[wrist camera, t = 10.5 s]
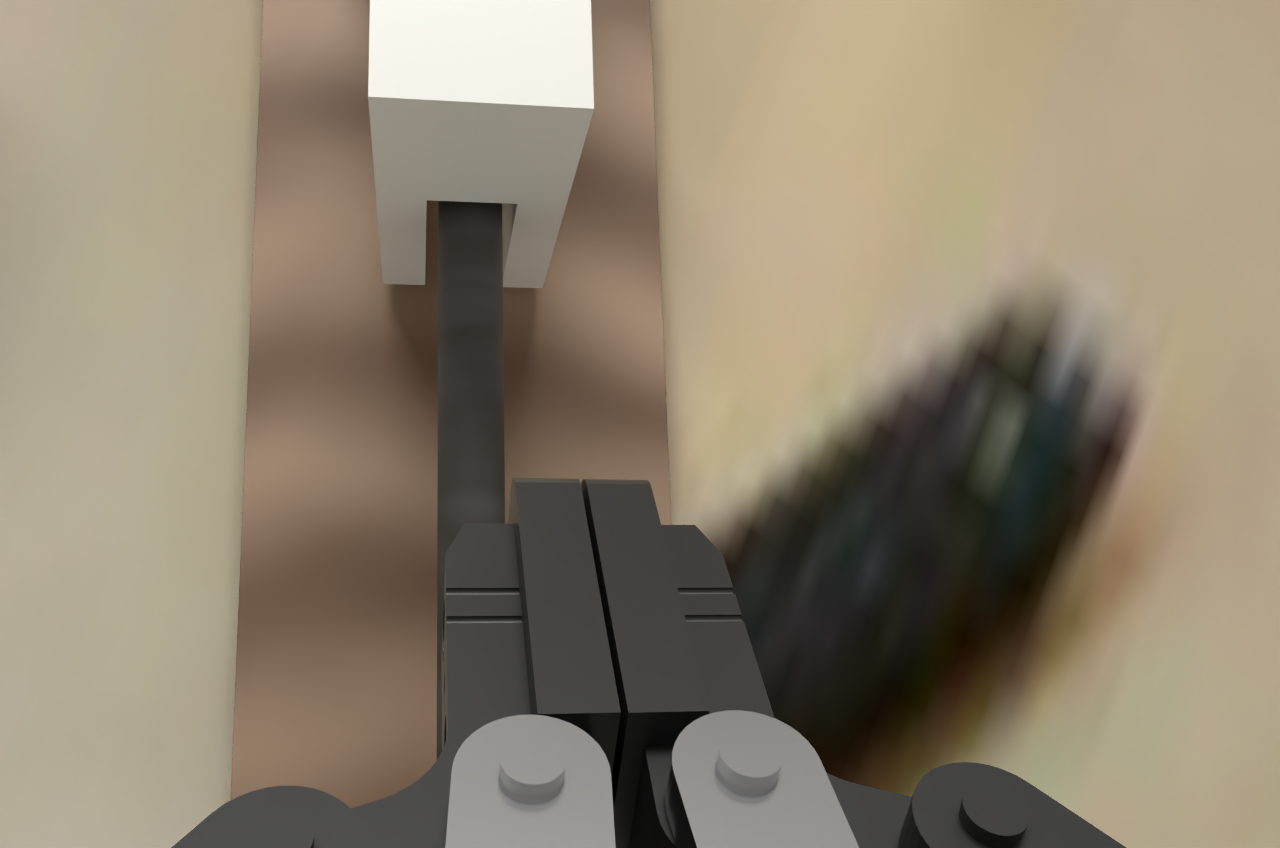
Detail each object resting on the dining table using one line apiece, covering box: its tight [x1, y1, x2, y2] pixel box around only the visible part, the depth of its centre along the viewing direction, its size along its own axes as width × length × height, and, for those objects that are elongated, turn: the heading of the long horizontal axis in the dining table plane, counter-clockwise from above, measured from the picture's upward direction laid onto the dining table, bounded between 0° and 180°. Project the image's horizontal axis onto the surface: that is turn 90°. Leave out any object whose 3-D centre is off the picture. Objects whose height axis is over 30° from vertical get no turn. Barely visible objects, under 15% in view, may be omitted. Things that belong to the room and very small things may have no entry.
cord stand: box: [231, 0, 671, 809], centre depth 32 cm, size 32×12×10 cm, turn 2°
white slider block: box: [368, 0, 594, 288], centre depth 31 cm, size 4×5×11 cm
